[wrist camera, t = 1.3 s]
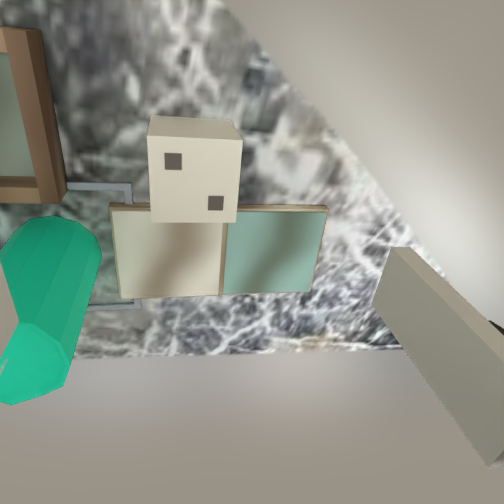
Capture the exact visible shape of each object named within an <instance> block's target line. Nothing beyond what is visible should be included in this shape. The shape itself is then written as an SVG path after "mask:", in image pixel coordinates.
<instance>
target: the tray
mask: <svg viewBox="0 0 504 504" xmlns="http://www.w3.org/2000/svg"><path fill="white" fill-rule="evenodd" d="M67 190H68V188H67V177H66V171H65V166H64V160H63V154H62V149H61V143H60V137H59V132H58V126H57V120H56V115H55V109H54V104H53V98H52V92H51V87H50V81H49V75H48V70H47V64H46V58H45V53H44V47H43V41H42V36H41V30H36V29H26V28H17V27H7V26H0V203H35V204H60V202H61V200H62V199H63V197H64V195H65V194H66V192H67Z"/></svg>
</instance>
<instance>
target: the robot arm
mask: <svg viewBox="0 0 504 504" xmlns="http://www.w3.org/2000/svg"><path fill="white" fill-rule="evenodd" d="M372 305H373V307H374V308H375V309H376V311H377V312H378V314H379V315H380V316H381V318H382V319H383V321H384V322H385V324H386V325H387V326H388V328H389V329H390V331H391V332H392V333H393V335H394V336H395V338H396V339H397V340H398V342H399V343H400V345H401V346H402V348H403V349H404V350H405V352H406V353H407V355H408V356H409V357H410V359H411V360H412V362H413V363H414V364H415V366H416V367H417V369H418V370H419V371H420V373H421V374H422V376H423V377H424V379H425V380H426V381H427V383H428V384H429V386H430V387H431V388H432V390H433V391H434V392H435V394H436V395H437V397H438V398H439V400H440V401H441V403H442V404H443V405H444V407H445V408H446V410H447V411H448V412H449V414H450V415H451V417H452V418H453V419H454V421H455V422H456V424H457V425H458V426H459V428H460V429H461V431H462V432H463V434H464V435H465V436H466V438H467V439H468V440H469V442H470V443H471V445H472V446H473V448H474V449H475V450H476V452H477V453H478V455H479V456H480V458H481V459H482V460H483V461H484V463H485V465H486V466H487V467H488V468H494V467H500V466H504V329H503V328H502V327H500V326H498V325H497V324H495V323H494V322H492V321H488V320H487V319H486V318H485V317H484V316H482V315H481V314H480V313H479V312H478V311H477V310H476V309H475V308H474V307H473V306H472V305H471V304H470V303H469V302H467V300H465V299H464V298H463V297H462V296H461V295H460V294H459V293H458V292H457V291H456V290H455V289H454V288H453V287H452V286H451V285H450V284H449V283H448V282H446V281H445V280H444V279H443V278H442V277H441V276H440V275H439V274H438V273H437V272H436V271H435V270H434V269H433V268H432V267H431V266H430V265H428V264H427V263H426V262H425V261H424V260H423V259H422V258H421V257H420V256H419V255H418V254H417V253H416V252H415V251H414V250H413V249H411V248H410V247H391V250H390V253H389V256H388V259H387V262H386V264H385V267H384V270H383V273H382V276H381V279H380V281H379V284H378V287H377V290H376V293H375V296H374V298H373V301H372ZM18 322H19V319H18V316H17V313H16V310H15V306H14V303H13V300H12V297H11V294H10V291H9V288H8V284H7V281H6V278H5V275H4V272H3V269H2V265H1V262H0V358H1V356H2V354H3V352H4V350H5V348H6V346H7V344H8V342H9V340H10V338H11V336H12V334H13V332H14V330H15V328H16V326H17V324H18Z"/></svg>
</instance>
